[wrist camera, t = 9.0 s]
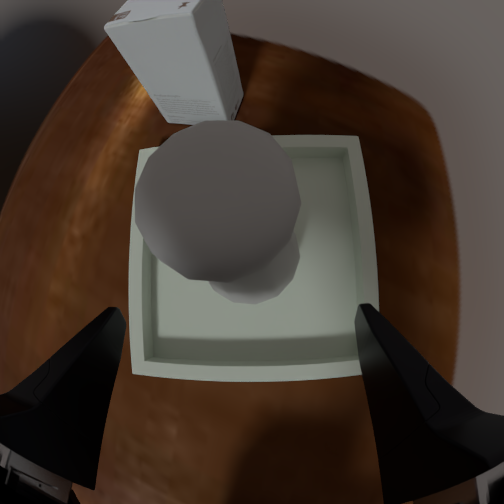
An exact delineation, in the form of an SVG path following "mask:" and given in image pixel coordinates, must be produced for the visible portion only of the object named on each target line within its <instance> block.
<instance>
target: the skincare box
mask: <svg viewBox="0 0 504 504" xmlns="http://www.w3.org/2000/svg"><path fill="white" fill-rule="evenodd" d="M104 30H105V31H106V33H107V34H108V35H109V37H110V38H111V40H112V41H113V43H114V44H115V46H116V47H117V49H118V50H119V51H120V53H121V54H122V56H123V57H124V59H125V60H126V62H127V63H128V65H129V66H130V68H131V69H132V70H133V72H134V73H135V75H136V76H137V78H138V79H139V81H140V82H141V84H142V85H143V87H144V88H145V90H146V91H147V93H148V94H149V96H150V97H151V98H152V100H153V101H154V103H155V104H156V106H157V107H158V109H159V110H160V112H161V113H162V115H163V116H164V118H165V119H166V121H167V122H168V123H179V124H190V125H195V124H198V123H200V122H203V121H216V120H228V121H234V119H235V116H236V114H237V111H238V108H239V106H240V103H241V100H242V98H243V90H242V86H241V81H240V76H239V71H238V67H237V62H236V57H235V53H234V48H233V44H232V40H231V35H230V31H229V26H228V22H227V18H226V14H225V10H224V6H223V2H222V0H128V1H127V2H126V3H125V4H124V5H123V6H122V7H121V8H120V9H119V10H118V11H117V12H116V14H115V15H114V16H113V17H112V18H111V19H110V20H109V22H108V23H107V24H106V25H105V26H104Z"/></svg>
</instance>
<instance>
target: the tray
mask: <svg viewBox="0 0 504 504" xmlns="http://www.w3.org/2000/svg"><path fill="white" fill-rule="evenodd" d="M272 137H273V138H274V139H275V140H276V141H277V143H278V144H279V145H280V146H281V147H282V149H283V150H284V151H285V152H286V154H287V155H288V156H289V157H290V158H291V160H292V164H293V168H294V172H295V176H296V181H297V185H298V190H299V194H300V199H301V207H300V210H299V213H298V217H297V220H296V223H295V227H294V230H293V231H294V233H295V234H296V237H297V243H298V248H299V253H300V260H299V263H298V266H297V269H296V272H295V275H294V278H293V280H292V281H291V282H290V283H289V284H288V285H287V287H286V288H285V289H284V290H283V291H282V292H281V293H280V294H279V295H278V296H277V297H274V298H272V299H269V300H266V301H264V302H261V303H258V304H246V303H234V302H232V301H230V300H228V299H227V298H225V297H223V296H222V295H220V294H219V293H217V292H215V291H214V290H213V289H212V287H211V285H210V284H209V282H208V281H201V280H189V279H187V278H185V277H184V276H182V275H181V274H179V273H178V272H176V271H175V270H173V269H172V268H170V267H169V266H167V265H166V264H164V263H163V262H162V261H160V260H159V259H158V258H157V257H156V256H155V255H153V254H152V253H151V251H150V249H149V247H148V246H147V244H146V242H145V240H144V238H143V236H142V235H141V233H140V231H139V229H138V227H137V225H136V223H135V188H134V197H133V208H132V220H131V234H130V254H129V328H130V348H131V362H132V373H133V374H139V375H147V376H155V377H165V378H176V379H188V380H204V381H231V382H270V381H297V380H313V379H325V378H336V377H346V376H354V375H362V372H361V368H360V363H359V357H358V348H357V340H356V333H355V325H354V320H355V316H356V312H357V308H358V305H359V304H362V303H370V304H371V305H372V306H373V307H374V308H376V309H377V310H378V311H379V293H378V274H377V260H376V248H375V238H374V229H373V220H372V212H371V205H370V198H369V191H368V185H367V179H366V173H365V167H364V162H363V157H362V152H361V147H360V142H359V137H358V136H343V135H276V136H272ZM158 148H159V147H154V148H148V149H142V150H140V151H139V157H138V164H137V172H136V179H135V187H136V185H137V183H138V180H139V178H140V175H141V173H142V171H143V168H144V166H145V164H146V162H147V159H148V157H149V156H150V155H152V154H153V153H154V152H155V151H156V150H157V149H158Z"/></svg>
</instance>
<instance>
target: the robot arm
mask: <svg viewBox="0 0 504 504" xmlns="http://www.w3.org/2000/svg"><path fill="white" fill-rule="evenodd" d="M354 325H355V333H356V340H357V348H358V357H359V363H360V368H361V372H362V376H363V381H364V385H365V390H366V395H367V399H368V404H369V409H370V414H371V420H372V425H373V430H374V436H375V442H376V448H377V454H378V460H379V468H380V475H381V483H382V491H383V500H384V504H402V503H406V502H409V501H413V504H504V416H501V415H497V414H491V413H487V412H484V411H482V410H480V409H478V408H476V407H475V406H474V405H473V404H472V403H471V402H470V401H468V400H467V399H466V398H465V397H464V396H463V395H461V394H460V393H459V392H458V391H457V390H456V389H455V388H454V387H453V386H451V385H450V384H449V383H448V382H447V381H446V380H445V379H444V378H443V377H442V376H441V375H440V374H439V373H438V372H437V371H436V370H435V369H434V368H433V367H432V366H431V365H430V364H429V363H428V362H427V360H426V359H425V358H424V357H423V356H422V355H421V354H420V353H419V352H418V351H417V350H416V349H415V348H414V347H413V346H412V345H411V344H410V343H409V342H408V341H407V340H406V339H405V338H404V337H403V336H402V335H401V334H400V332H399V331H398V330H397V329H396V328H395V327H394V326H393V325H392V324H391V323H390V322H389V321H388V320H387V319H386V318H385V317H384V316H383V315H382V314H381V313H380V312H379V311H378V310H377V309H376V308H374V307H373V306H372V305H371V304H370V303H362V304H359V305H358V308H357V312H356V316H355V320H354ZM125 330H126V321H125V319H124V317H123V315H122V313H121V311H120V309H119V308H118V307H108V308H107V309H106V310H104V311H103V312H102V313H101V314H100V315H98V316H97V317H96V318H95V319H94V320H92V321H91V322H90V323H89V324H88V325H87V326H85V327H84V328H83V329H82V330H81V331H80V332H79V333H77V334H76V335H75V336H74V337H73V338H72V339H70V340H69V341H68V342H67V343H66V344H65V345H64V346H63V347H61V348H60V349H59V350H58V351H57V352H56V353H55V354H54V355H52V356H51V357H50V358H49V359H48V360H47V361H46V362H45V363H44V364H42V365H41V366H40V367H39V368H38V369H37V370H36V371H34V372H33V373H32V374H31V375H29V376H28V377H27V378H26V379H24V380H23V381H22V382H21V383H19V384H18V385H17V386H16V387H14V388H13V389H12V390H10V391H9V392H7V393H4V394H1V395H0V504H80V502H79V500H78V499H77V497H76V495H75V493H74V491H73V490H72V489H71V488H72V484H73V482H74V483H76V484H78V485H81V486H83V487H86V488H89V489H91V490H95V485H96V477H97V470H98V463H99V456H100V450H101V448H100V447H101V444H102V438H103V433H104V428H105V423H106V418H107V413H108V408H109V404H110V400H111V395H112V391H113V387H114V383H115V379H116V375H117V371H118V367H119V363H120V359H121V354H122V347H123V342H124V336H125Z"/></svg>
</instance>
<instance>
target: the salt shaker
mask: <svg viewBox="0 0 504 504" xmlns="http://www.w3.org/2000/svg"><path fill="white" fill-rule="evenodd" d="M300 207H301V199H300V194H299V190H298V185H297V181H296V176H295V172H294V168H293V164H292V160H291V158H290V157H289V156H288V155H287V154H286V152H285V151H284V150H283V149H282V147H281V146H280V145H279V144H278V143H277V141H276V140H275V139H274V138H273V137H272V136H271V134H270V133H267V132H265V131H263V130H260V129H258V128H256V127H253V126H251V125H248V124H246V123H243V122H241V121H228V120H216V121H203V122H200V123H198V124H195V125H193V126H191V127H188V128H186V129H184V130H181V131H179V132H177V133H174V134H173V135H172V136H171V137H169V138H168V139H167V140H166V141H165V142H164V143H163V144H162V145H161V146H160V147H159V148H158V149H157V150H156V151H155V152H154V153H153V154H152V155H150V156H149V157H148V159H147V162H146V164H145V166H144V168H143V171H142V173H141V175H140V178H139V180H138V183H137V185H136V187H135V223H136V225H137V227H138V229H139V231H140V233H141V235H142V236H143V238H144V240H145V242H146V244H147V246H148V247H149V249H150V251H151V253H152V254H153V255H155V256H156V257H157V258H158V259H159V260H160V261H162V262H163V263H164V264H166V265H167V266H169V267H170V268H172V269H173V270H175V271H176V272H178V273H179V274H181V275H182V276H184V277H185V278H187V279H189V280H201V281H208V282H209V284H210V285H211V287H212V289H213V290H214V291H215V292H217V293H219V294H220V295H222V296H223V297H225V298H227V299H228V300H230V301H232V302H234V303H246V304H258V303H261V302H264V301H266V300H269V299H272V298H274V297H277V296H278V295H279V294H280V293H281V292H282V291H283V290H284V289H285V288H286V287H287V285H288V284H289V283H290V282H291V281H292V280H293V278H294V275H295V272H296V269H297V266H298V263H299V260H300V253H299V248H298V243H297V237H296V234H295V233H294V231H293V230H294V227H295V223H296V220H297V217H298V213H299V210H300Z"/></svg>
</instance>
